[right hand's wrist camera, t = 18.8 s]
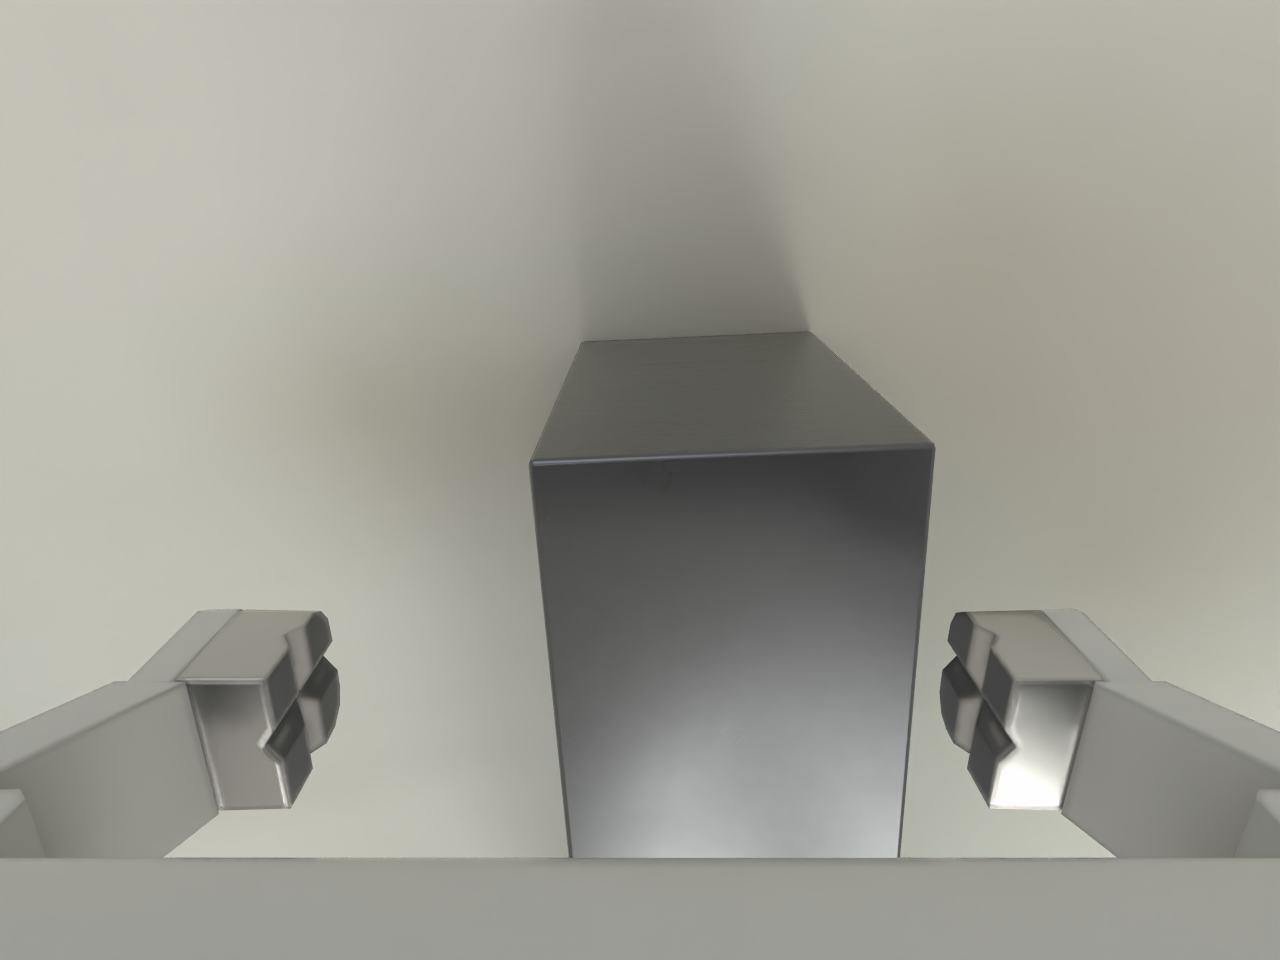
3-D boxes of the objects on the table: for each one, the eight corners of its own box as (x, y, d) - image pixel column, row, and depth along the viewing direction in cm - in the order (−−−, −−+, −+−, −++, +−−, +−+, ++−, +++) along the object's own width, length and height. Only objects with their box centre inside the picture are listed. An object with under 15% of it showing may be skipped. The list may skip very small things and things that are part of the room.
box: (580, 341, 21) (527, 461, 12) (812, 330, 21) (937, 443, 12) (629, 1000, 29) (619, 1362, 20) (793, 996, 29) (857, 1360, 20)
